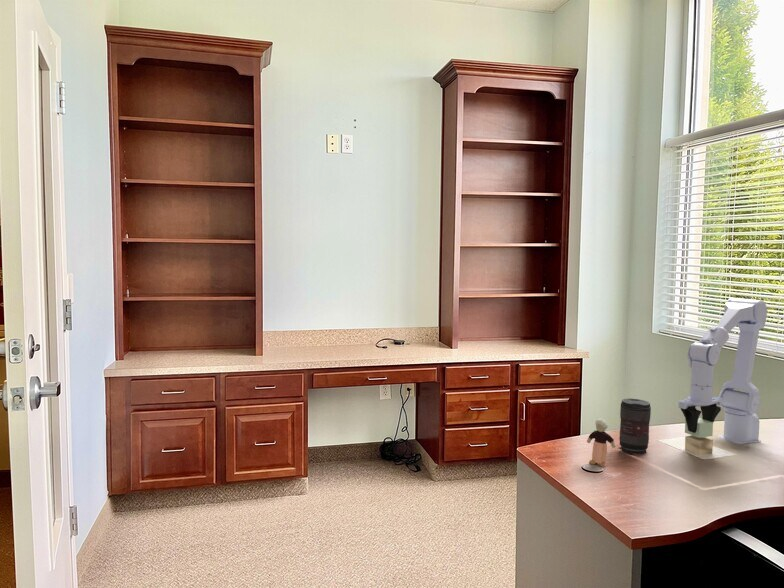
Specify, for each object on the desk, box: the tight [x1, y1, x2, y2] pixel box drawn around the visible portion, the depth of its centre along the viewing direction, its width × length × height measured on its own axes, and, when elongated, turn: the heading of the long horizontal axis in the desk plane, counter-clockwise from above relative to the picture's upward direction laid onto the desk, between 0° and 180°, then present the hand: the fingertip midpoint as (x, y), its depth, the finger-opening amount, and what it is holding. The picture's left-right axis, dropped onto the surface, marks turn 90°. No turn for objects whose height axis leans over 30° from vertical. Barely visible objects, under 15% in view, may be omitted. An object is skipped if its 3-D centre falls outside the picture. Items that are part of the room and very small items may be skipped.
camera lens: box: [619, 398, 652, 456], centre depth 167 cm, size 8×8×15 cm
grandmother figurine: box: [586, 418, 617, 467], centre depth 157 cm, size 8×4×13 cm, turn 62°
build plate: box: [657, 436, 736, 461], centre depth 170 cm, size 12×17×1 cm
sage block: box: [684, 417, 714, 438], centre depth 166 cm, size 5×5×4 cm
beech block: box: [684, 434, 714, 455], centre depth 166 cm, size 5×5×4 cm
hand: (699, 430), depth 166 cm, fingers closed on sage block, 5 cm apart
